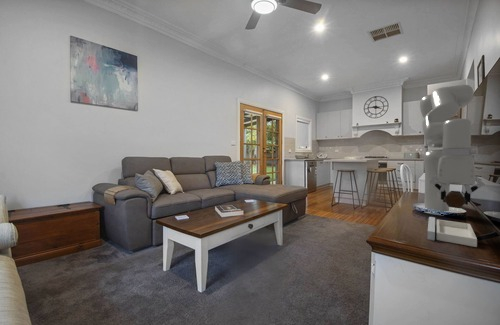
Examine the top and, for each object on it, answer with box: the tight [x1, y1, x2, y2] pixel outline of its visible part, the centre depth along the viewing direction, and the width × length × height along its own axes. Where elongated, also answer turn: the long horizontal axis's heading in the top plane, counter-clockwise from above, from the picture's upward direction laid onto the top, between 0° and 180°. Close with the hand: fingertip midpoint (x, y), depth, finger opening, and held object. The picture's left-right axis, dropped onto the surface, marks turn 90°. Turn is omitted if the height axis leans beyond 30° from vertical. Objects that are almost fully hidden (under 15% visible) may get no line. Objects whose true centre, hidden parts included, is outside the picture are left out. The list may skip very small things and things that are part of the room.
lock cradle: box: [435, 218, 478, 248], centre depth 83 cm, size 20×10×3 cm, turn 140°
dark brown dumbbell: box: [444, 190, 466, 209], centre depth 82 cm, size 6×5×15 cm
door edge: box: [426, 216, 436, 241], centre depth 87 cm, size 22×2×3 cm, turn 140°
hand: (454, 202), depth 83 cm, fingers closed on dark brown dumbbell, 5 cm apart
